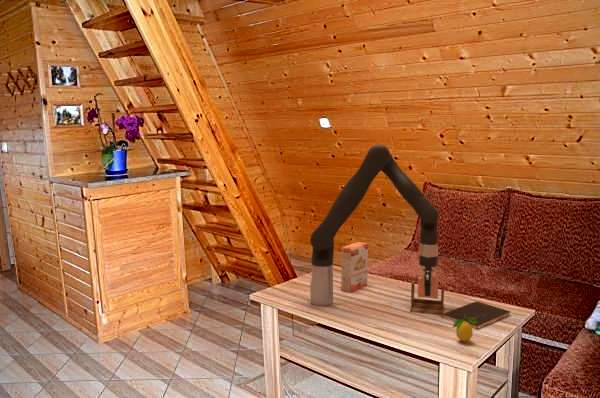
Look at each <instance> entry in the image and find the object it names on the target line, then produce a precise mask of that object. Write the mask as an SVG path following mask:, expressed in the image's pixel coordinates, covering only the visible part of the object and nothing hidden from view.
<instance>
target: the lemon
mask: <svg viewBox="0 0 600 398" xmlns="http://www.w3.org/2000/svg"><path fill="white" fill-rule="evenodd" d="M467 319H468V321H469V322H471V323H473V324H476V323H477V321H476V319H475V318H473V317H467ZM463 320H464V321H463ZM463 320H461V319H459V320H457V321H455V322H453V325H452V328H454V329H455V331H456V332H455V333H456V337H457V338H458V339H459V340H461V342H467V341H470V340H471V339H472V336H473V328H472V327H471V325H470V324H469V323H468V322H466V321H465V315H464V319H463Z"/></svg>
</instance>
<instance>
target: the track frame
mask: <svg viewBox="0 0 600 398" xmlns="http://www.w3.org/2000/svg"><path fill="white" fill-rule="evenodd" d="M440 293H441V295H440V297H441V298H440V300H437V299H436V300H435V299H428V298H415V280H412V281H411V291H410V310H409V312H410V313H416V314H427V315H437V316H438V315H439V316H442V314H443V313H444V302H445V300H444V299H445V282H441V292H440Z"/></svg>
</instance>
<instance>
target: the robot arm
mask: <svg viewBox="0 0 600 398" xmlns="http://www.w3.org/2000/svg"><path fill="white" fill-rule="evenodd" d="M380 172H382V173H383V174H384V175H386V177H387V178H388V179H389V180H390V182H391V184H393V186H394V188H395V189H396V191H397V192H398V193H399V194H400V195H401V197H402V198H403V199H404V200H405V201H406V202H407V203H408V205H409V206H411V208H412V209H413V210H414V212H415V213H416V215H417V216H418V217H419V218H420V234H419V247H418V248H419V249H418V250H419V251H418V252H419V253H418V264H419V266H421V267H424V268H423V270H422V274H423V277H424V287H425V296H430V287H431V282H432V277H434V276H433V275H434V267H437V266H439V265H438V264H439V244H438V243H439V242H438V241H439V240H438V239H439V235H438V220H439V217H440V213H439V211H438V209H437V207H436V206H434V205H432V204H431V203H430V202H429V200H428V199H427V198H426V196H425V194H424V193H423V191H421V190H420V188H419V187H418V186H417V185H416V184H415V183H414V182H413V180H412V179H411V178H410V177H409V176H408V175H407V174H406V173H405V172H404V171H403V170H402V169H401V167H400V166H399V164H398V163H397V162H396V160H395V159H394V157H393V155H392V154H391V151H390V149H389V148H388V147H387V146H386V145H383V144H375V145H373V146H371V147H370V148H369V149H368V151H367V154H366V156H365V157H364V159H363V161H362V163H361V164H360V167H359V168H358V169H357V170H356V172H355V173H354V174H353V176H352V177H350V179H349V180H348V181H347V183H345V185H344V187H343V188H342V189H341V190H340V192H339V193H338V194H337V196H336V198H335V200H334V201H333V203H332V205H331V207H330V209H329V211H328V213H327V215H326V216H325V218H324V219H323V221H322V222H321V223H320V224H319V225H318V226H317V227H316V228H315V229H314V230H313V231H312V232H311V235H310V246H311V247H312V253H311V281H310V287H309V288H310V293H309V294H310V304H312V305H315V306H319V307H320V306H322V307H325V306H327V307H328V306H330V305H332V304H333V303H334V254H335V253H334V251H335V250H334V249H335V247H334V246H335V237H336V235H337V233H338V232H339V230H340V229H341V227H342V226H343V224H345V223H346V221H347V220H348V219H349V218H350V217H351V216H352V215H353V213H354V212H355V211H356V209H357V208H358V206H359V204H361V202H362V201H363V199H364V197H365V196H366V194H367V192H368V190H369V188H370V186H371V185H372V183H373V181H374V179H375V178H376V177H377V175H378V174H379V173H380ZM426 283H429V284H426Z"/></svg>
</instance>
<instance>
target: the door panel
mask: <svg viewBox="0 0 600 398" xmlns="http://www.w3.org/2000/svg"><path fill="white" fill-rule="evenodd" d="M426 284H429V283H426ZM438 297H439V277H434V276H432V282H431V287H430V296H425V287H424V276H418V277H417V298H421V299H434V300H435V299H436V300H437V299H439V298H438Z"/></svg>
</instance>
